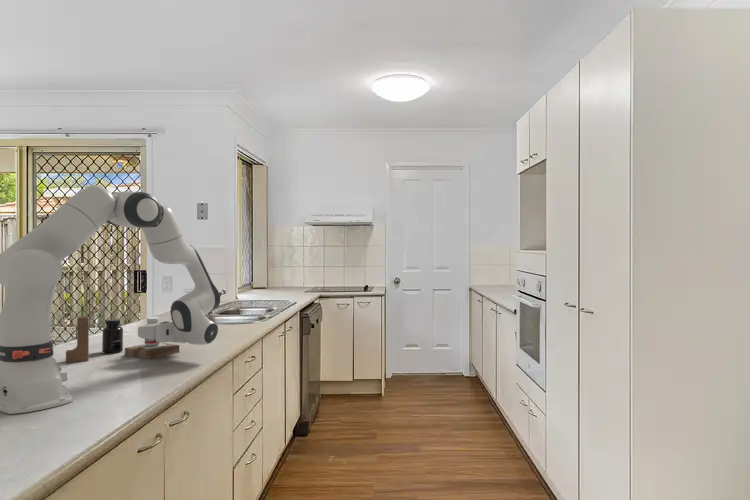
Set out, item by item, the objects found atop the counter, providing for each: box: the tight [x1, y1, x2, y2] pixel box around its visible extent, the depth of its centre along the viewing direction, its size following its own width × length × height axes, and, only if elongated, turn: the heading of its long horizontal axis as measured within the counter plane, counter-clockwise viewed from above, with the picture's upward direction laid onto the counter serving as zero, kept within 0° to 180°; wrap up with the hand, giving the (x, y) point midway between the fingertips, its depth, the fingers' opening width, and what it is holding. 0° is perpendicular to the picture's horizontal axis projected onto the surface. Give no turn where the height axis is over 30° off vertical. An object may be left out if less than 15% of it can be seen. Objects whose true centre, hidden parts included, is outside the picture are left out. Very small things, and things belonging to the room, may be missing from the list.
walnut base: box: [124, 342, 180, 360], centre depth 185 cm, size 13×13×3 cm
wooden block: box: [65, 315, 90, 364], centre depth 173 cm, size 7×3×15 cm, turn 118°
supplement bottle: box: [101, 318, 124, 355], centre depth 187 cm, size 7×7×12 cm
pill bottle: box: [144, 316, 161, 346], centre depth 185 cm, size 5×5×10 cm
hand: (150, 326), depth 186 cm, fingers closed on pill bottle, 5 cm apart
